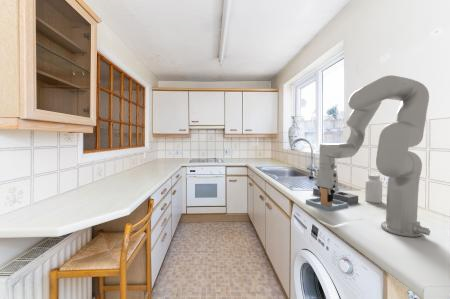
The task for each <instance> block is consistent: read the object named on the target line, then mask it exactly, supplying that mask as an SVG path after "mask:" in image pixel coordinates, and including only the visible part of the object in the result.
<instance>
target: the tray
mask: <svg viewBox="0 0 450 299" xmlns="http://www.w3.org/2000/svg"><path fill="white" fill-rule="evenodd" d="M305 204H307V205H310V206H313V207H316V208H319V209H321V210H324V211H327V212H330V211H335V210H338V209H344V208H348V207H349V204H348V203H346V202H342V201H339V200H335V199H333V201H332V205H331V206H325V205H322V204H321V199H320V196H318V197H313V198H307V199H305Z"/></svg>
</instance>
